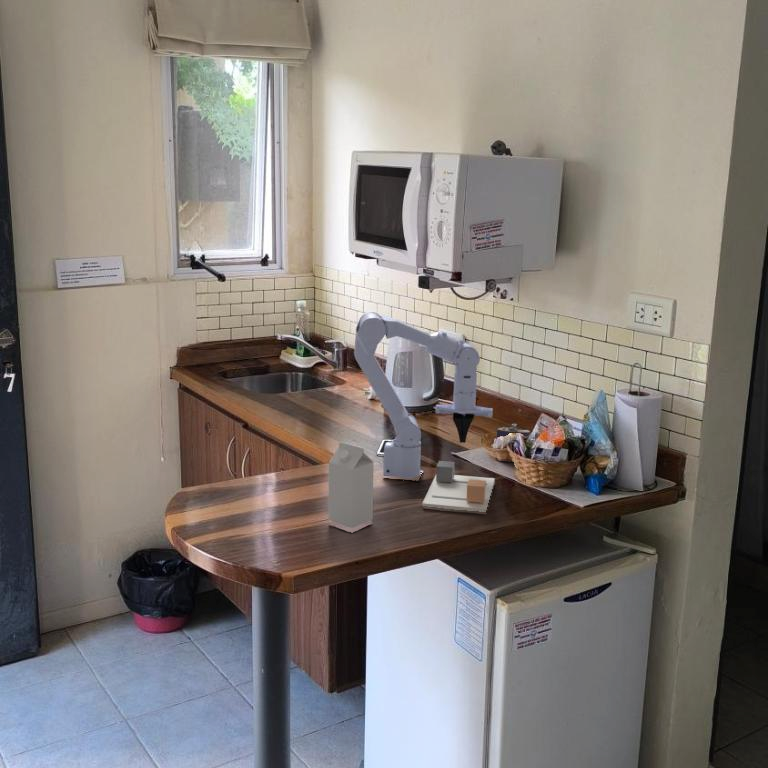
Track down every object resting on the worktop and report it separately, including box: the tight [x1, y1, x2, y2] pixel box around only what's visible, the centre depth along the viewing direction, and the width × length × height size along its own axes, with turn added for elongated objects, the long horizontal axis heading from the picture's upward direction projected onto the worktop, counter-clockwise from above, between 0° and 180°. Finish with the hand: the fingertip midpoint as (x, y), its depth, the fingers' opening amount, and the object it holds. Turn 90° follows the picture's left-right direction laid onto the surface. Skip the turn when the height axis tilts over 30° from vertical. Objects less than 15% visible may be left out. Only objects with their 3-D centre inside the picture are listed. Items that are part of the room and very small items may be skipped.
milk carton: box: [327, 441, 374, 528], centre depth 204 cm, size 7×7×19 cm
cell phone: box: [375, 438, 394, 455], centre depth 262 cm, size 8×15×1 cm, turn 173°
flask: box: [496, 423, 531, 438], centre depth 252 cm, size 9×3×11 cm, turn 78°
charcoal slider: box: [435, 460, 456, 483], centre depth 232 cm, size 4×4×4 cm
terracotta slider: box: [466, 479, 486, 503], centre depth 219 cm, size 4×4×4 cm
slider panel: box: [421, 474, 496, 512], centre depth 226 cm, size 15×22×2 cm
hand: (462, 441), depth 239 cm, fingers closed
